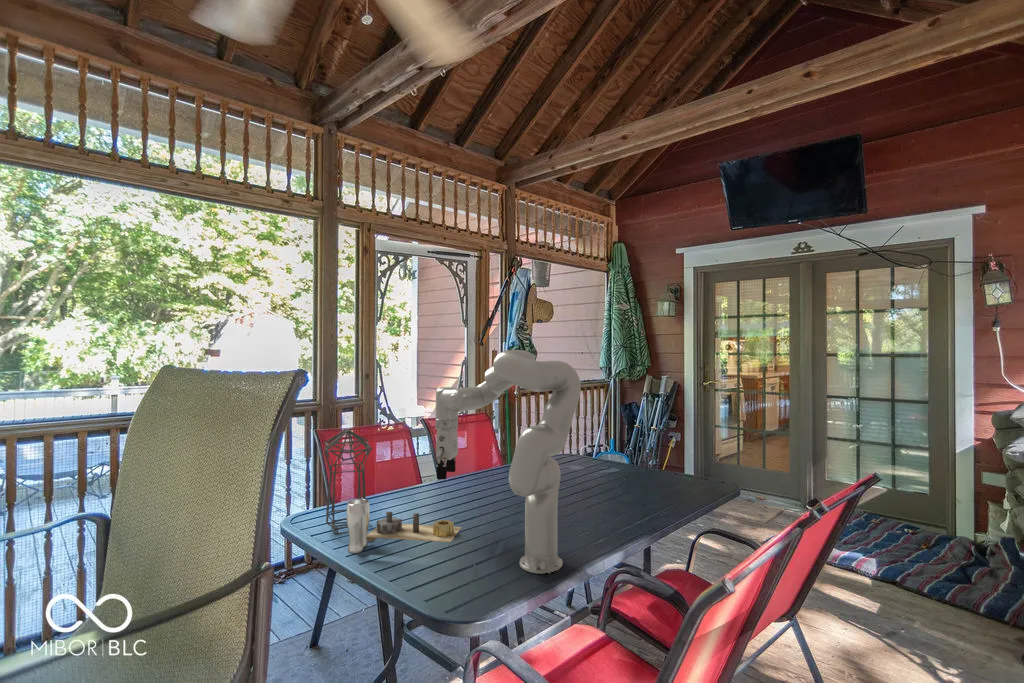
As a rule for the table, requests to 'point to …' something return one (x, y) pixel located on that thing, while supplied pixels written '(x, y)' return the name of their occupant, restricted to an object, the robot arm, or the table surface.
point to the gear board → (406, 530)
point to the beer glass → (358, 524)
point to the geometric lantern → (337, 438)
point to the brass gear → (443, 528)
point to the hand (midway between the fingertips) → (446, 475)
